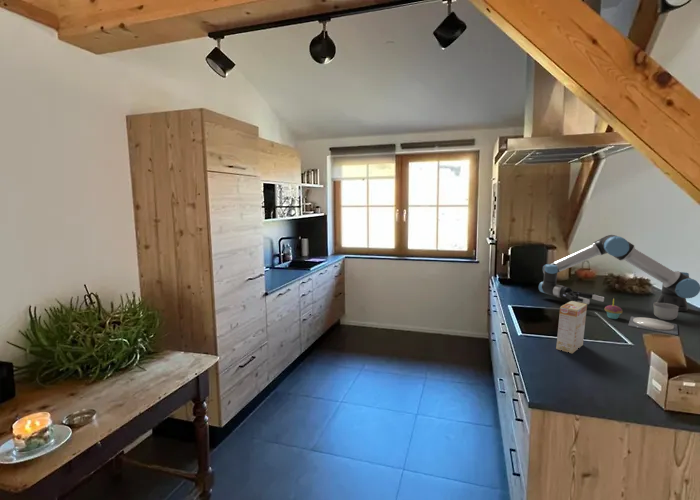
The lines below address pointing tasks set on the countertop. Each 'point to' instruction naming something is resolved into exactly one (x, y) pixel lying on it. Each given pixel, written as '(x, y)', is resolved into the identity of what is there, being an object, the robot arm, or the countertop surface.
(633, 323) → the dish
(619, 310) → the cupcake
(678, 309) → the robot arm
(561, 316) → the coffeecake box
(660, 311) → the teacup
